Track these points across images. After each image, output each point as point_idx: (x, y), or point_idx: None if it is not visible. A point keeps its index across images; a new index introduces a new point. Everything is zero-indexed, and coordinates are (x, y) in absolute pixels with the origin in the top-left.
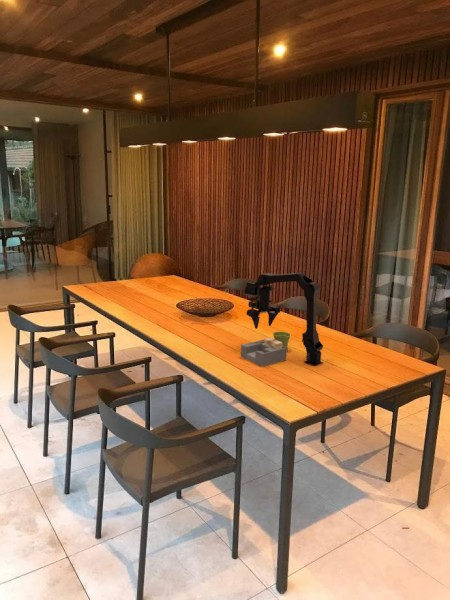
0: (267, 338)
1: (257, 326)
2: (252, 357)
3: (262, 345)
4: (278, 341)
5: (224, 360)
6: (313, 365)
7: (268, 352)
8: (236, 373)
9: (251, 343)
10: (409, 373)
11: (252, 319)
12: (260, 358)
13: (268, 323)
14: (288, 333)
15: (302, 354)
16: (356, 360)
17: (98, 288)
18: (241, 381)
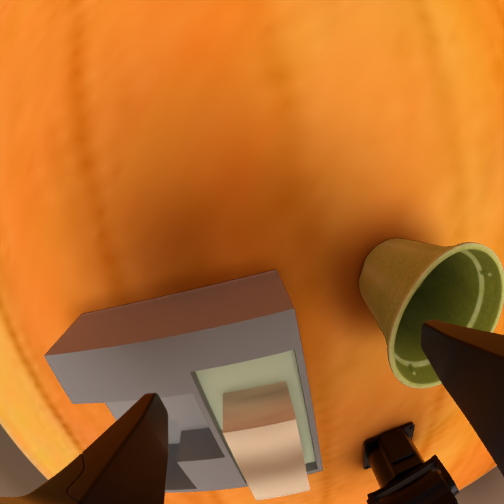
0: (255, 430)
1: (161, 451)
2: (117, 415)
3: (201, 406)
4: (297, 479)
5: (7, 322)
6: (363, 466)
7: (182, 491)
8: (50, 440)
9: (120, 364)
10: (480, 471)
11: (44, 491)
12: None
13: (439, 335)
14: (498, 306)
15: None
16: None
17: None
18: None
